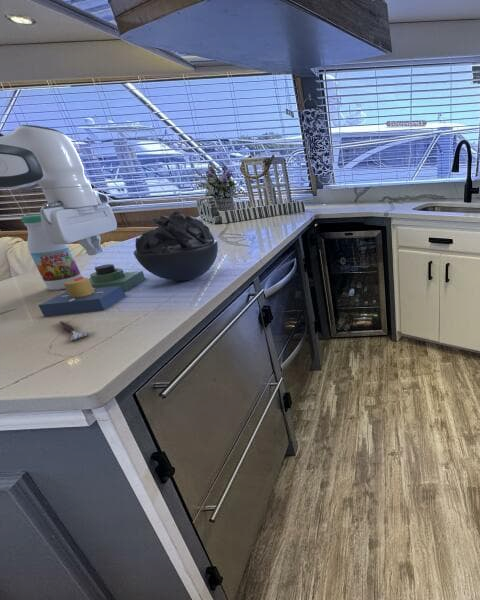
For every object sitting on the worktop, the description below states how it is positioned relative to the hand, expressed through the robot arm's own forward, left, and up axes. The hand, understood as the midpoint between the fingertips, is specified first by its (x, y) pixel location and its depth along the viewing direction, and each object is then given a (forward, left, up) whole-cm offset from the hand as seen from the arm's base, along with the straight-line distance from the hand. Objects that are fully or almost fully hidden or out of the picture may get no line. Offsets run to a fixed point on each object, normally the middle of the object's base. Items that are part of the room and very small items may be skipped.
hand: (95, 253), depth 85 cm
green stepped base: (0, +2, -10) cm, 10 cm away
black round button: (0, +2, -6) cm, 6 cm away
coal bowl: (+19, +3, -10) cm, 21 cm away
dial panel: (+2, -12, -10) cm, 16 cm away
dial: (+2, -12, -7) cm, 14 cm away
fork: (+8, -28, -10) cm, 31 cm away
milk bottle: (-15, +8, -10) cm, 20 cm away
